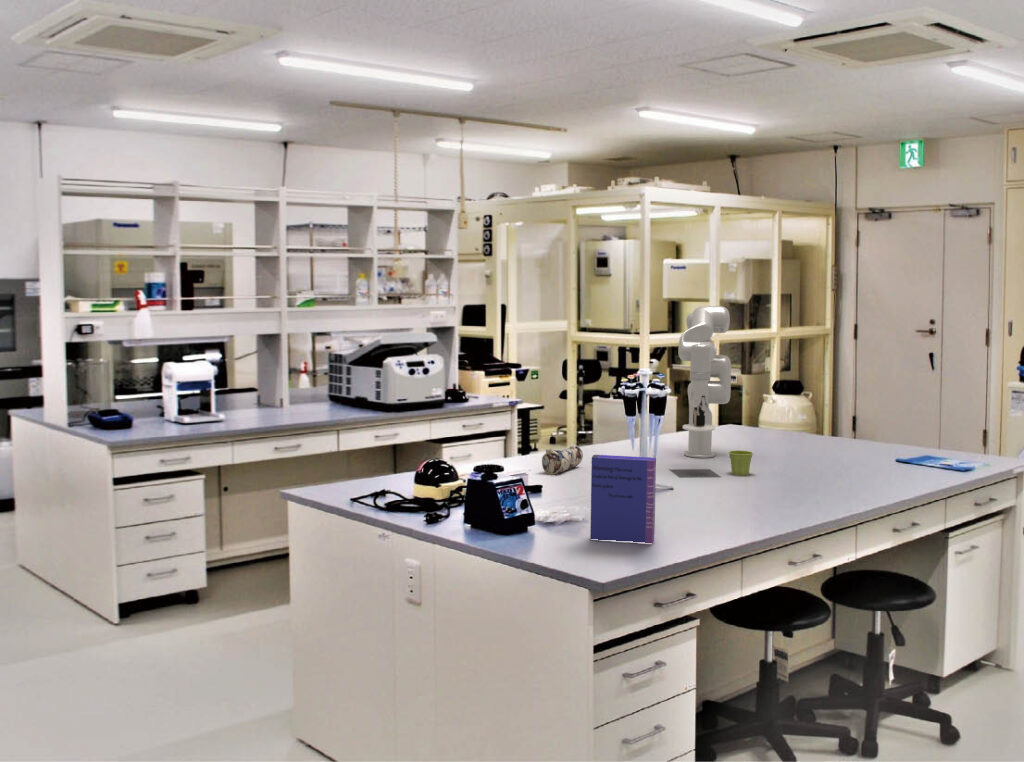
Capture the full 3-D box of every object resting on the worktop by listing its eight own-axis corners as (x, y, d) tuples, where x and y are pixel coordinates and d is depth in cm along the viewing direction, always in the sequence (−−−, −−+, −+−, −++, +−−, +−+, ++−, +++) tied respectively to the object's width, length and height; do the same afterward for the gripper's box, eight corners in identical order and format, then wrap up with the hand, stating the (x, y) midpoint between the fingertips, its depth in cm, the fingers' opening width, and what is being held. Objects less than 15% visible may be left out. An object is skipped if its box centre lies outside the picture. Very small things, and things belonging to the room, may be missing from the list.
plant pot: (724, 475, 386) (725, 453, 385) (731, 471, 394) (732, 449, 393) (749, 478, 382) (749, 455, 381) (755, 474, 390) (756, 451, 389)
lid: (679, 426, 392) (679, 408, 392) (709, 426, 393) (710, 408, 393) (687, 431, 380) (687, 412, 380) (718, 431, 381) (719, 412, 381)
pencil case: (560, 476, 383) (561, 450, 382) (540, 474, 387) (540, 448, 386) (584, 466, 402) (584, 442, 401) (564, 465, 406) (564, 440, 405)
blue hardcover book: (654, 541, 289) (656, 457, 287) (652, 545, 285) (654, 460, 282) (593, 536, 294) (594, 453, 291) (590, 540, 289) (591, 456, 287)
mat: (668, 470, 396) (668, 469, 396) (709, 470, 397) (709, 469, 397) (679, 478, 380) (679, 477, 380) (721, 478, 381) (721, 477, 381)
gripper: (684, 374, 393) (683, 421, 395) (696, 378, 376) (694, 428, 378) (703, 374, 393) (702, 421, 395) (716, 378, 377) (714, 428, 379)
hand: (698, 424), depth 387 cm, fingers closed on lid, 3 cm apart
